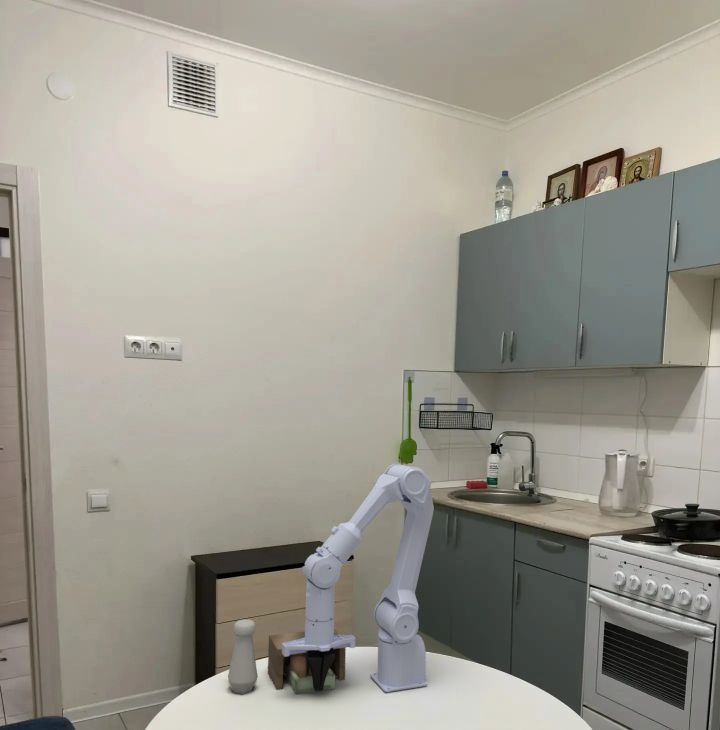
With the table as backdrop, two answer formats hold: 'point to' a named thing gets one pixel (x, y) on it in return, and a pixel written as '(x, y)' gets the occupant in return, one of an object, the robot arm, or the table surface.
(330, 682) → the tray
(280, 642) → the shelf
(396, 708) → the table surface
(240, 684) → the salt shaker
